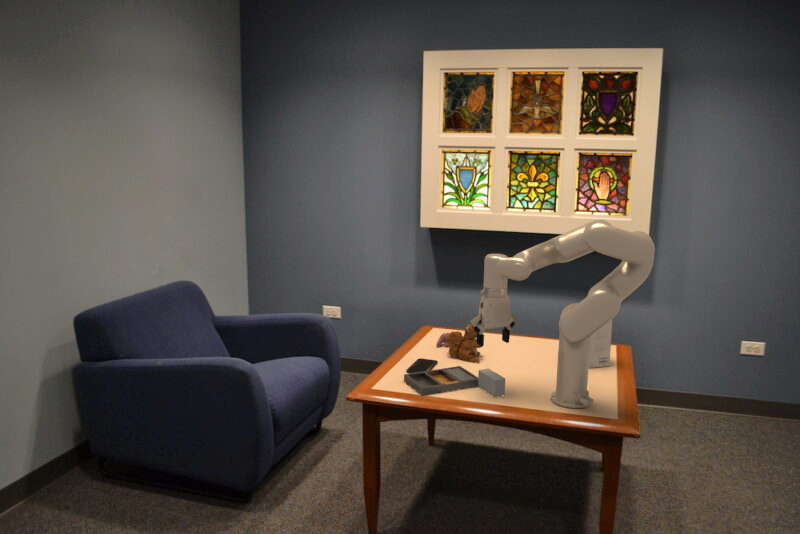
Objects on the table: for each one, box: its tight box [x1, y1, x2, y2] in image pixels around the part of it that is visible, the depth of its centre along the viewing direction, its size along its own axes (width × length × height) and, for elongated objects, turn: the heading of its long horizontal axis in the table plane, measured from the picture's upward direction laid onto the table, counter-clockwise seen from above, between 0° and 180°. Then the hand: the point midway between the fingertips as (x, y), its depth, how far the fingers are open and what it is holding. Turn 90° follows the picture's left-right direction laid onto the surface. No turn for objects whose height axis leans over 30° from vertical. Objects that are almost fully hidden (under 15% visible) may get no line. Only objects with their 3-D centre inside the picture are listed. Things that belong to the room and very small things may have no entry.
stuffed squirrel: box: [448, 323, 483, 364], centre depth 237 cm, size 10×14×13 cm
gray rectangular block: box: [477, 368, 506, 398], centre depth 204 cm, size 10×4×6 cm, turn 25°
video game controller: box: [436, 332, 451, 348], centre depth 249 cm, size 10×5×7 cm, turn 58°
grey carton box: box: [589, 318, 614, 369], centre depth 229 cm, size 16×8×20 cm, turn 105°
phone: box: [405, 358, 438, 374], centre depth 226 cm, size 8×1×15 cm
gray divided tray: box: [403, 365, 479, 397], centre depth 210 cm, size 14×22×3 cm, turn 115°
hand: (492, 343), depth 202 cm, fingers open, 9 cm apart
